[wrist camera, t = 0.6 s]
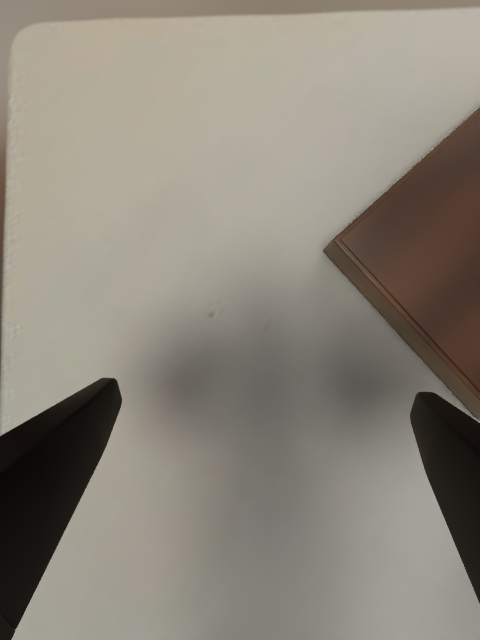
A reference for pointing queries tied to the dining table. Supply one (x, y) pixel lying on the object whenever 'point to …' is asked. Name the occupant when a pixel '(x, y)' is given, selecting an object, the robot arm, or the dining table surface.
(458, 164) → the walnut block
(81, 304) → the dining table surface
